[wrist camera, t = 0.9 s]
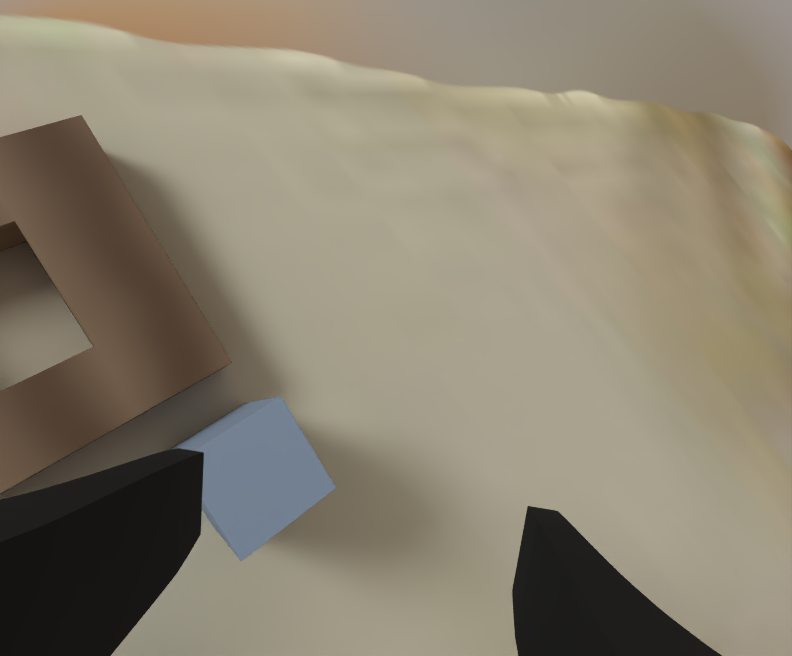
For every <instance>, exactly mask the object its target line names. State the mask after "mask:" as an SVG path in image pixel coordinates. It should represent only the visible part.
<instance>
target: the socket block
mask: <svg viewBox="0 0 792 656" xmlns="http://www.w3.org/2000/svg"><path fill="white" fill-rule="evenodd" d="M26 241H27V243H28V244H29V246H30V248H31V249H32V251H33V252H34V254H35V255H36V257H37V259H38V260H39V262H40V263H41V265H42V267H43V268H44V270H45V271H46V273H47V274H48V276H49V278H50V279H51V281H52V282H53V284H54V285H55V287H56V289H57V290H58V292H59V293H60V295H61V296H62V298H63V300H64V301H65V303H66V304H67V306H68V308H69V309H70V311H71V312H72V314H73V315H74V317H75V319H76V320H77V322H78V323H79V325H80V326H81V328H82V330H83V331H84V333H85V334H86V336H87V337H88V339H89V341H90V342H91V344H92V345H93V347H92V348H90V349H88V350H86V351H84V352H82V353H80V354H77V355H75V356H73V357H71V358H69V359H67V360H65V361H63V362H61V363H59V364H57V365H55V366H53V367H51V368H48V369H46V370H44V371H42V372H40V373H38V374H36V375H34V376H32V377H30V378H28V379H26V380H24V381H22V382H19V383H17V384H15V385H13V386H11V387H9V388H7V389H5V390H3V391H1V392H0V494H1V493H3V492H5V491H7V490H8V489H10V488H12V487H14V486H15V485H17V484H19V483H21V482H22V481H24V480H26V479H28V478H29V477H31V476H33V475H35V474H37V473H38V472H40V471H42V470H44V469H45V468H47V467H49V466H51V465H52V464H54V463H56V462H58V461H59V460H61V459H63V458H65V457H67V456H68V455H70V454H72V453H74V452H75V451H77V450H79V449H81V448H82V447H84V446H86V445H88V444H90V443H91V442H93V441H95V440H97V439H98V438H100V437H102V436H104V435H105V434H107V433H109V432H111V431H112V430H114V429H116V428H118V427H120V426H121V425H123V424H125V423H127V422H128V421H130V420H132V419H134V418H135V417H137V416H139V415H141V414H142V413H144V412H146V411H148V410H150V409H151V408H153V407H155V406H157V405H158V404H160V403H162V402H164V401H165V400H167V399H169V398H171V397H173V396H174V395H176V394H178V393H180V392H181V391H183V390H185V389H187V388H188V387H190V386H192V385H194V384H195V383H197V382H199V381H201V380H203V379H204V378H206V377H208V376H210V375H211V374H213V373H215V372H217V371H218V370H220V369H222V368H224V367H225V366H227V365H228V364H230V363H232V362H231V360H230V358H229V357H228V355H227V353H226V352H225V350H224V348H223V347H222V345H221V343H220V342H219V340H218V339H217V337H216V335H215V334H214V332H213V330H212V329H211V327H210V325H209V324H208V322H207V320H206V319H205V317H204V316H203V314H202V312H201V311H200V309H199V307H198V306H197V304H196V302H195V301H194V299H193V297H192V296H191V294H190V293H189V291H188V289H187V288H186V286H185V284H184V283H183V281H182V279H181V278H180V276H179V274H178V273H177V271H176V270H175V268H174V266H173V265H172V263H171V261H170V260H169V258H168V256H167V255H166V253H165V251H164V250H163V248H162V247H161V245H160V243H159V242H158V240H157V238H156V237H155V235H154V233H153V232H152V230H151V228H150V227H149V225H148V224H147V222H146V220H145V219H144V217H143V215H142V214H141V212H140V210H139V209H138V207H137V205H136V204H135V202H134V201H133V199H132V197H131V196H130V194H129V192H128V191H127V189H126V187H125V186H124V184H123V182H122V181H121V179H120V178H119V176H118V174H117V173H116V171H115V169H114V168H113V166H112V164H111V163H110V161H109V159H108V158H107V156H106V155H105V153H104V151H103V150H102V148H101V146H100V145H99V143H98V141H97V140H96V138H95V136H94V135H93V133H92V132H91V130H90V128H89V127H88V125H87V123H86V122H85V120H84V118H83V117H82V115H80V116H76V117H73V118H69V119H65V120H62V121H58V122H55V123H51V124H47V125H44V126H40V127H36V128H33V129H29V130H25V131H22V132H18V133H14V134H11V135H7V136H4V137H0V251H1V250H4V249H7V248H9V247H12V246H15V245H18V244H20V243H23V242H26Z"/></svg>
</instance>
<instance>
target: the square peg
mask: <svg viewBox="0 0 792 656" xmlns="http://www.w3.org/2000/svg"><path fill="white" fill-rule="evenodd" d="M177 448H181V449H187V450H193V451H199V452H204V466H203V488H202V510H203V511H204V513H205V514H206V516H207V517H208V519H209V521H210V522H211V524H212V525H213V527H214V528H215V529H216V530H217V532H218V533H219V534H220V536H221V537H222V538H223V539H224V541H225V542H226V543H227V544H228V546H229V547H230V548H231V549H232V551H233V552H234V553H235V554H236V556H237V557H238V558H239V559H240V561H242V560H244V559H245V558H246V557H247V556H249V555H250V554H251V553H253V552H254V551H255V550H256V549H258V548H259V547H260V546H262V545H263V544H264V543H266V542H267V541H268V540H269V539H271V538H272V537H273V536H275V535H276V534H277V533H278V532H280V531H281V530H282V529H284V528H285V527H286V526H287V525H289V524H290V523H291V522H293V521H294V520H295V519H297V518H298V517H299V516H300V515H302V514H303V513H304V512H306V511H307V510H308V509H309V508H311V507H312V506H313V505H315V504H316V503H317V502H319V501H320V500H321V499H322V498H324V497H325V496H326V495H328V494H329V493H330V492H331V491H333V490H334V489H335V488H336V487H335V485H334V483H333V482H332V480H331V478H330V477H329V475H328V473H327V472H326V470H325V468H324V467H323V465H322V463H321V462H320V460H319V458H318V457H317V455H316V453H315V452H314V450H313V448H312V447H311V445H310V443H309V442H308V440H307V438H306V437H305V435H304V434H303V432H302V430H301V429H300V427H299V425H298V424H297V422H296V420H295V419H294V417H293V415H292V414H291V412H290V410H289V409H288V407H287V405H286V404H285V402H284V400H283V399H282V397H281V396H279V397H274V398H269V399H264V400H259V401H254V402H249V403H244V404H243V405H241V406H240V407H238V408H236V409H235V410H233V411H231V412H230V413H228V414H227V415H225V416H223V417H222V418H220V419H218V420H217V421H215V422H214V423H212V424H210V425H209V426H207V427H205V428H204V429H202V430H201V431H199V432H197V433H196V434H194V435H192V436H191V437H189V438H188V439H186V440H184V441H183V442H181V443H179V444H178V445H176V446H174V447H173V448H171V449H170V450H172V449H177Z"/></svg>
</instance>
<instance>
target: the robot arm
mask: <svg viewBox="0 0 792 656" xmlns="http://www.w3.org/2000/svg"><path fill="white" fill-rule="evenodd" d="M203 466H204V452H199V451H193V450H187V449H181V448H177V449H172V450H167V451H163V452H160V453H156V454H153V455H150V456H146V457H143V458H140V459H137V460H134V461H131V462H128V463H125V464H122V465H119V466H116V467H113V468H110V469H107V470H104V471H101V472H98V473H95V474H92V475H88V476H85V477H82V478H78V479H75V480H72V481H68V482H65V483H62V484H58V485H55V486H51V487H48V488H45V489H41V490H38V491H34V492H31V493H27V494H23V495H19V496H15V497H11V498H7V499H2V500H0V656H111V654H112V653H113V652H114V651H115V649H116V648H117V647H118V646H119V645H120V643H121V642H122V641H123V640H124V638H125V637H126V636H127V635H128V633H129V632H130V631H131V630H132V629H133V627H134V626H135V625H136V624H137V622H138V621H139V620H140V619H141V618H142V616H143V615H144V614H145V613H146V611H147V610H148V609H149V608H150V606H151V605H152V604H153V603H154V602H155V600H156V599H157V598H158V596H159V595H160V594H161V593H162V591H163V590H164V589H165V588H166V586H167V585H168V584H169V583H170V581H171V580H172V579H173V578H174V576H175V575H176V574H177V572H178V571H179V569H180V567H181V566H182V564H183V563H184V561H185V559H186V558H187V556H188V555H189V553H190V551H191V550H192V548H193V546H194V544H195V543H196V541H197V539H198V538H199V536H200V533H201V511H202V488H203ZM512 594H513V612H514V627H515V639H516V644H517V650H518V656H722V655H720V654H719V653H717V652H716V651H714V650H713V649H712V648H710V647H709V646H707V645H706V644H705V643H703V642H702V641H701V640H699V639H698V638H697V637H695V636H694V635H693V634H691V633H690V632H689V631H687V630H686V629H685V628H683V627H682V626H681V625H680V624H678V623H677V622H676V621H674V620H673V619H672V618H670V617H669V616H668V615H667V614H666V613H664V612H663V611H662V610H661V609H659V608H658V607H657V606H656V605H655V604H654V603H652V602H651V601H650V600H649V599H648V598H647V597H646V596H644V595H643V594H642V593H641V592H640V591H639V590H638V589H637V588H635V587H634V586H633V585H632V584H631V583H630V582H629V581H628V580H627V579H626V578H624V577H623V576H622V575H621V574H620V573H619V572H618V571H617V570H616V569H615V568H614V567H613V566H612V565H611V564H610V563H609V562H608V561H607V560H606V559H605V558H604V557H603V556H602V555H601V554H600V553H599V552H598V551H597V550H596V549H595V548H594V547H593V546H592V545H591V544H590V543H589V542H588V541H587V540H586V539H585V538H584V537H583V536H582V535H581V534H580V533H579V532H578V531H577V530H576V529H575V528H574V527H573V526H572V525H571V524H570V523H569V522H568V521H567V520H566V519H565V518H564V517H563V516H562V515H561V514H560V513H559V512H558V511H555V510H549V509H542V508H536V507H530V506H528V508H527V513H526V519H525V524H524V530H523V535H522V541H521V546H520V552H519V557H518V562H517V568H516V573H515V579H514V584H513V590H512Z"/></svg>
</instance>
